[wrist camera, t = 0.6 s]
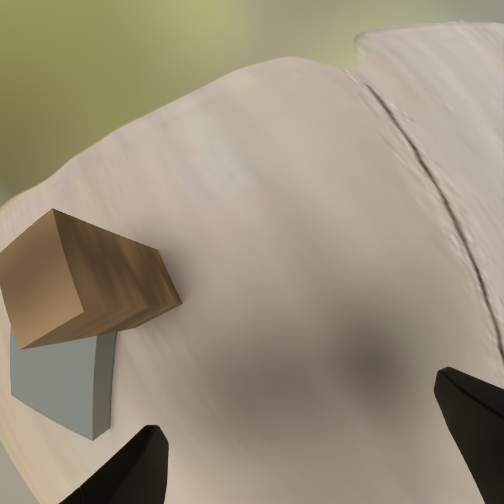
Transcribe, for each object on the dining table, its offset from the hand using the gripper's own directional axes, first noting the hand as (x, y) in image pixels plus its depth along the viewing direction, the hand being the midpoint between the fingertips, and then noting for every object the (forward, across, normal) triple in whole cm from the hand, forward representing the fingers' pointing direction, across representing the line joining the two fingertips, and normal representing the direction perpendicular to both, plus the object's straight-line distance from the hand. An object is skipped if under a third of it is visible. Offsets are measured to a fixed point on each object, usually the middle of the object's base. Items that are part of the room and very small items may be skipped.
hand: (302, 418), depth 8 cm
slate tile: (+12, +19, +5) cm, 23 cm away
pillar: (+14, +10, 0) cm, 18 cm away
